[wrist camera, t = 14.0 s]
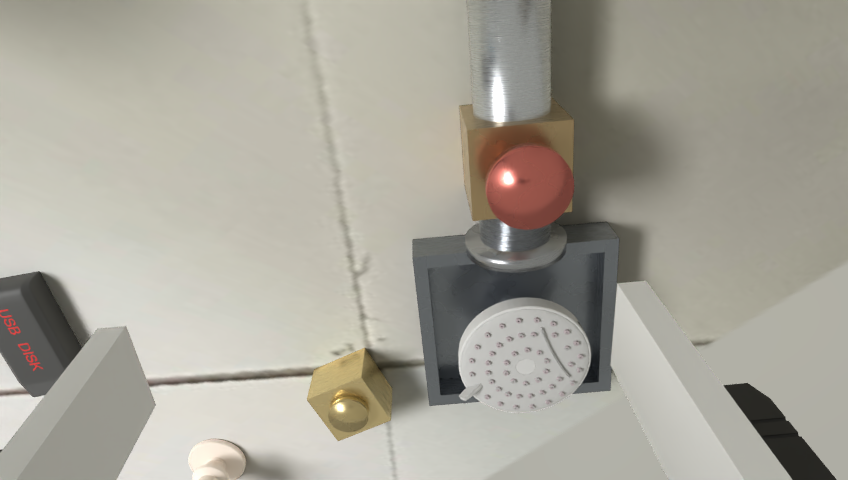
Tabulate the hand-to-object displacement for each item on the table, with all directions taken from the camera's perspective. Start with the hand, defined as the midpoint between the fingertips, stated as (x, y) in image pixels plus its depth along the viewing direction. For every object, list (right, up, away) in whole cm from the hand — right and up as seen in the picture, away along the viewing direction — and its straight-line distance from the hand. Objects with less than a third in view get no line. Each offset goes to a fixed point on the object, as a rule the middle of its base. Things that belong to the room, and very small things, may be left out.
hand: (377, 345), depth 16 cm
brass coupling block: (-5, -9, +35) cm, 37 cm away
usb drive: (-30, -5, +33) cm, 45 cm away
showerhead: (+8, -3, +31) cm, 33 cm away
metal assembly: (+8, +6, +29) cm, 30 cm away
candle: (-18, -18, +39) cm, 47 cm away
